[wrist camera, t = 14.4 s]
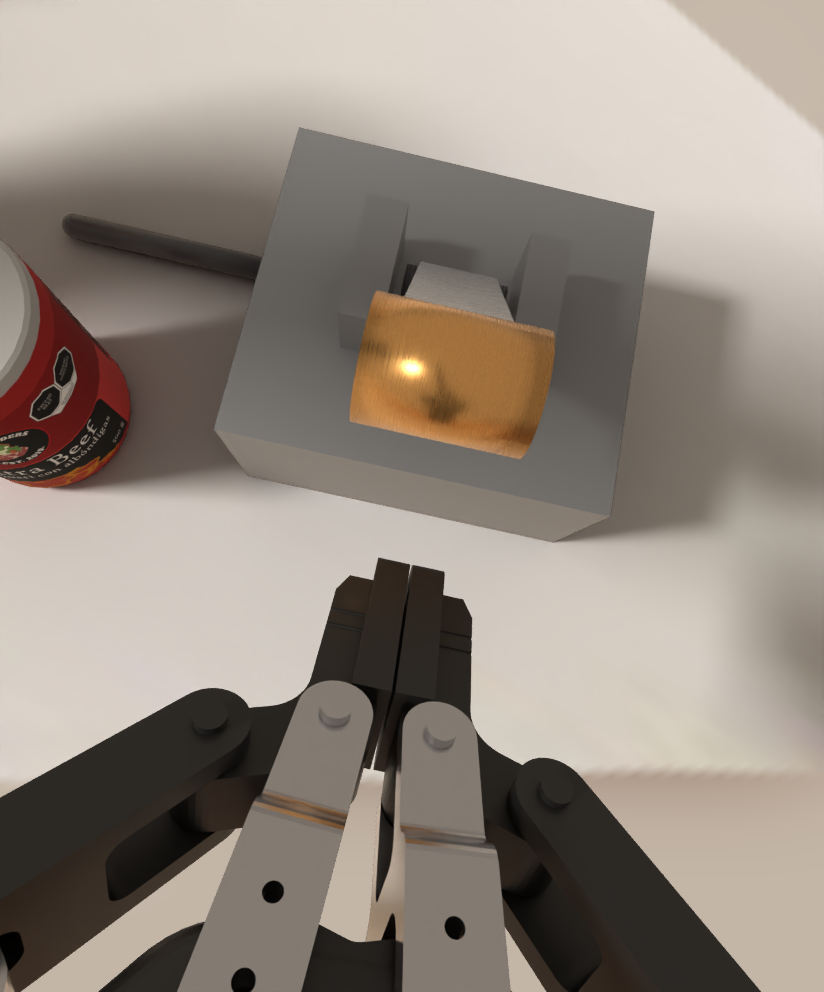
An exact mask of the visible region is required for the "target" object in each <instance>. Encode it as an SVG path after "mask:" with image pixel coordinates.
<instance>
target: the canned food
mask: <svg viewBox="0 0 824 992" xmlns="http://www.w3.org/2000/svg"><path fill="white" fill-rule="evenodd" d="M130 412H131V411H130V398H129V391H128V388H127V384H126V381H125V378H124V376H123V374H122V372H121V370H120V368H119V367H118V365H117V364H116V362H115V361H114V360H113V359H112V358H111V357H110V355H109V354H108V353H107V352H106V351H105V350H104V349H103V348H102V347H101V345H100V344H99V343H98V342H97V341H96V340H95V339H94V338H93V337H92V336H91V334H90V333H89V332H88V331H87V330H86V329H85V328H84V327H83V326H82V324H81V323H80V322H79V321H78V320H77V319H76V318H75V317H74V316H73V315H72V313H71V312H70V311H69V310H68V309H67V308H66V307H65V306H64V305H63V304H62V302H61V301H60V300H59V299H58V298H57V297H56V296H55V295H54V294H53V292H52V291H51V290H50V289H49V288H48V287H47V286H46V285H45V284H44V283H43V281H42V280H41V279H40V278H39V277H38V276H37V275H36V274H35V273H34V271H33V270H32V269H31V268H30V267H29V266H28V265H27V264H26V263H25V262H24V261H23V260H22V259H21V258H20V257H19V256H18V255H17V254H16V253H15V252H14V251H13V249H12V248H10V247H9V246H8V245H6V244H5V243H4V242H3V241H2V240H0V477H2V478H5V479H7V480H10V481H12V482H15V483H18V484H22V485H25V486H29V487H42V488H49V487H56V486H63V485H69V484H72V483H75V482H78V481H81V480H84V479H85V478H87V477H89V476H91V475H93V474H94V473H96V472H97V471H99V470H100V469H101V468H102V467H104V466H105V465H106V464H107V463H108V462H109V461H110V460H111V459H112V457H113V456H114V455H115V454H116V453H117V451H118V450H119V448H120V446H121V444H122V442H123V441H124V439H125V436H126V433H127V430H128V427H129V421H130Z"/></svg>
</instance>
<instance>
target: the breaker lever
mask: <svg viewBox="0 0 824 992" xmlns="http://www.w3.org/2000/svg"><path fill="white" fill-rule="evenodd" d="M507 292H508V286H504V285H499V283H498V281H497V278H492V277H488V276H484V275H479V274H475V273H471V272H466V271H462V270H458V269H453V268H449V267H445V266H440V265H436V264H432V263H428V262H423V261H421V262H420V265H419V266H417V265H413V264H408V263H407V266H406V270H405V274H404V279H403V283H402V288H401V294H400V295H395V294H391V293H387V292H382V291H378V290H377V291H376V292H375V294H374V297H373V300H372V303H371V306H370V309H369V313H368V317H367V320H366V324H365V329H364V333H363V337H362V342H361V346H360V351H359V356H358V361H357V366H356V371H355V377H354V383H353V389H352V396H351V404H350V422H354V423H358V424H363V425H367V426H372V427H376V428H381V429H385V430H390V431H394V432H399V433H403V434H408V435H412V436H417V437H421V438H426V439H430V440H435V441H439V442H444V443H448V444H453V445H457V446H462V447H466V448H471V449H475V450H480V451H484V452H489V453H493V454H498V455H502V456H507V457H511V458H516V459H521V458H522V457H523V456H524V455H525V454H526V452H527V450H528V449H529V447H530V445H531V442H532V440H533V438H534V435H535V433H536V430H537V427H538V425H539V422H540V419H541V415H542V412H543V409H544V405H545V401H546V398H547V394H548V390H549V385H550V380H551V375H552V370H553V363H554V355H555V335H554V332H553V331H552V330H548V329H544V328H539V327H535V326H531V325H526V324H522V323H517V322H514V320H513V318H512V315H511V313H510V310H509V308H508V305H507V303H506V298H507Z"/></svg>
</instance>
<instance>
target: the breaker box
mask: <svg viewBox="0 0 824 992" xmlns="http://www.w3.org/2000/svg"><path fill="white" fill-rule="evenodd" d="M653 219H654V211H650V210H646V209H641V208H637V207H633V206H629V205H625V204H620V203H616V202H612V201H608V200H604V199H599V198H595V197H591V196H587V195H582V194H578V193H574V192H570V191H566V190H561V189H557V188H553V187H549V186H544V185H540V184H536V183H532V182H528V181H523V180H519V179H515V178H511V177H506V176H502V175H498V174H494V173H490V172H485V171H481V170H477V169H473V168H468V167H464V166H460V165H456V164H452V163H447V162H443V161H439V160H435V159H430V158H426V157H422V156H418V155H414V154H409V153H405V152H401V151H397V150H392V149H388V148H384V147H380V146H376V145H371V144H367V143H363V142H359V141H354V140H350V139H346V138H342V137H338V136H333V135H329V134H325V133H321V132H316V131H312V130H308V129H304V128H300V127H299V130H298V133H297V137H296V140H295V144H294V147H293V151H292V154H291V158H290V161H289V165H288V168H287V172H286V175H285V179H284V183H283V186H282V190H281V193H280V197H279V200H278V204H277V207H276V211H275V214H274V218H273V221H272V225H271V228H270V232H269V236H268V239H267V243H266V246H265V250H264V253H263V257H259V256H255V255H251V254H246V253H242V252H238V251H233V250H229V249H225V248H220V247H216V246H211V245H207V244H203V243H198V242H194V241H190V240H185V239H181V238H177V237H172V236H168V235H164V234H159V233H155V232H150V231H146V230H142V229H137V228H133V227H129V226H124V225H120V224H116V223H111V222H107V221H103V220H98V219H94V218H90V217H85V216H81V215H76V214H69V215H67V216H66V217H65V218H64V219H63V222H62V227H63V229H64V231H65V233H66V234H67V235H68V236H70V237H72V238H76V239H80V240H84V241H89V242H93V243H97V244H102V245H106V246H111V247H115V248H119V249H124V250H128V251H132V252H137V253H141V254H146V255H150V256H154V257H159V258H163V259H167V260H172V261H176V262H181V263H185V264H189V265H194V266H198V267H202V268H207V269H211V270H216V271H220V272H224V273H229V274H233V275H237V276H242V277H246V278H251V279H255V280H256V281H255V285H254V289H253V292H252V296H251V299H250V303H249V306H248V310H247V313H246V317H245V320H244V324H243V327H242V331H241V334H240V338H239V342H238V345H237V349H236V352H235V356H234V359H233V363H232V366H231V370H230V373H229V377H228V380H227V384H226V387H225V391H224V394H223V398H222V402H221V405H220V409H219V412H218V416H217V419H216V423H215V426H214V431H215V432H216V433H217V435H218V436H219V437H220V439H221V440H222V441H223V443H224V444H225V445H226V447H227V448H228V450H229V451H230V452H231V454H232V455H233V456H234V458H235V459H236V460H237V462H238V463H239V464H240V466H241V467H242V469H243V470H244V471H245V473H246V474H247V475H248V476H251V477H256V478H260V479H265V480H269V481H274V482H279V483H283V484H288V485H292V486H297V487H302V488H306V489H311V490H315V491H320V492H324V493H329V494H334V495H338V496H343V497H347V498H352V499H357V500H361V501H366V502H370V503H375V504H379V505H384V506H389V507H393V508H398V509H402V510H407V511H412V512H416V513H421V514H425V515H430V516H434V517H439V518H444V519H448V520H453V521H457V522H462V523H467V524H471V525H476V526H480V527H485V528H489V529H494V530H499V531H503V532H508V533H512V534H517V535H522V536H526V537H531V538H535V539H540V540H544V541H549V542H555V541H557V540H559V539H561V538H564V537H566V536H568V535H570V534H573V533H575V532H577V531H579V530H582V529H584V528H586V527H588V526H590V525H593V524H595V523H597V522H599V521H602V520H604V519H606V518H608V517H610V515H611V508H612V501H613V494H614V487H615V480H616V473H617V467H618V460H619V453H620V446H621V439H622V432H623V425H624V418H625V411H626V405H627V398H628V391H629V384H630V377H631V370H632V363H633V356H634V349H635V343H636V336H637V329H638V322H639V315H640V308H641V301H642V294H643V287H644V281H645V274H646V267H647V260H648V253H649V246H650V239H651V232H652V225H653ZM421 261H423V262H428V263H432V264H436V265H440V266H445V267H449V268H453V269H458V270H462V271H466V272H471V273H475V274H479V275H484V276H488V277H492V278H497V281H498V283H499V285H504V286H508V292H507V298H506V303H507V305H508V308H509V310H510V313H511V315H512V318H513V320H514V322H517V323H522V324H526V325H531V326H535V327H539V328H544V329H548V330H552V331H553V332H554V335H555V355H554V363H553V370H552V375H551V380H550V385H549V390H548V394H547V398H546V401H545V405H544V409H543V412H542V415H541V419H540V422H539V425H538V427H537V430H536V433H535V435H534V438H533V440H532V442H531V445H530V447H529V449H528V450H527V452H526V454H525V455H524V456H523V457H522V458H521V459H516V458H511V457H507V456H502V455H498V454H493V453H489V452H484V451H480V450H475V449H471V448H466V447H462V446H457V445H453V444H448V443H444V442H439V441H435V440H430V439H426V438H421V437H417V436H412V435H408V434H403V433H399V432H394V431H390V430H385V429H381V428H376V427H372V426H367V425H363V424H358V423H354V422H350V404H351V396H352V389H353V383H354V377H355V371H356V366H357V361H358V356H359V351H360V346H361V342H362V337H363V333H364V329H365V324H366V320H367V317H368V313H369V309H370V306H371V303H372V300H373V297H374V294H375V292H376V291H377V290H378V291H382V292H387V293H391V294H395V295H400V294H401V288H402V283H403V279H404V274H405V270H406V266H407V263H408V264H413V265H417V266H419V265H420V262H421Z"/></svg>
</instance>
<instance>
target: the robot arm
mask: <svg viewBox="0 0 824 992" xmlns="http://www.w3.org/2000/svg"><path fill="white" fill-rule="evenodd" d="M409 569H410V564H405V563H401V562H396V561H392V560H387V559H382V558H378V562H377V566H376V570H375V575H374V579H373V580H369V579H364V578H360V577H355V576H351V575H350V576H349V577H348V578H347V579H346V580H345V581H344V582H343V583H342V584H341V585H340V586H339V587H338V588H337V589H336V591H335V595H334V599H333V602H332V606H331V610H330V613H329V616H328V620H327V624H326V627H325V630H324V634H323V638H322V641H321V645H320V648H319V652H318V655H317V659H316V662H315V666H314V669H313V673H312V676H311V679H310V682H309V684H308V685H307V687H306V688H305V690H304V691H303V692H302V693H301V694H299V695H298V696H297V697H295V698H294V699H292V700H290V701H288V702H286V703H283V704H279V705H274V706H265V707H253V708H249V707H248V705H247V704H246V702H245V701H244V700H243V699H242V698H241V697H240V696H238V695H237V694H235V693H233V692H231V691H228V690H224V689H218V688H207V689H201V690H198V691H195V692H192V693H190V694H188V695H186V696H184V697H183V698H181V699H179V700H177V701H175V702H173V703H172V704H170V705H168V706H166V707H164V708H162V709H161V710H159V711H157V712H155V713H153V714H152V715H150V716H148V717H146V718H144V719H142V720H141V721H139V722H137V723H135V724H133V725H132V726H130V727H128V728H126V729H124V730H122V731H121V732H119V733H117V734H115V735H113V736H112V737H110V738H108V739H106V740H104V741H102V742H101V743H99V744H97V745H95V746H93V747H92V748H90V749H88V750H86V751H84V752H82V753H81V754H79V755H77V756H75V757H73V758H72V759H70V760H68V761H66V762H64V763H62V764H61V765H59V766H57V767H55V768H53V769H52V770H50V771H48V772H46V773H44V774H42V775H41V776H39V777H37V778H35V779H33V780H32V781H30V782H28V783H26V784H24V785H22V786H21V787H19V788H17V789H15V790H13V791H12V792H10V793H8V794H6V795H5V796H2V797H1V798H0V992H21V991H22V990H23V989H25V988H26V987H27V986H29V985H30V984H31V983H33V982H34V981H36V980H37V979H38V978H39V977H41V976H42V975H44V974H45V973H46V972H48V971H49V970H50V969H52V968H53V967H54V966H56V965H57V964H58V963H59V962H61V961H62V960H64V959H65V958H66V957H68V956H69V955H70V954H72V953H73V952H74V951H76V950H77V949H78V948H80V947H81V946H82V945H84V944H85V943H86V942H88V941H89V940H90V939H92V938H93V937H94V936H96V935H97V934H98V933H100V932H101V931H102V930H104V929H105V928H106V927H108V926H109V925H110V924H112V923H113V922H115V921H116V920H117V919H119V918H120V917H121V916H122V915H124V914H125V913H127V912H128V911H129V910H131V909H132V908H133V907H135V906H136V905H137V904H139V903H140V902H141V901H143V900H144V899H145V898H147V897H148V896H149V895H151V894H152V893H153V892H155V891H156V890H157V889H159V888H160V887H161V886H163V885H164V884H165V883H167V882H168V881H169V880H171V879H172V878H173V877H175V876H176V875H177V874H179V873H180V872H181V871H183V870H184V869H185V868H187V867H188V866H189V865H191V864H192V863H194V862H195V861H196V860H198V859H199V858H200V857H202V856H203V855H204V854H206V853H207V852H208V851H210V850H211V849H212V848H214V847H215V846H216V845H217V844H219V843H220V842H222V841H223V840H224V839H226V838H227V837H228V836H229V835H230V834H231V833H232V832H233V831H234V830H235V829H236V828H242V831H241V833H240V836H239V838H238V841H237V843H236V846H235V848H234V851H233V853H232V856H231V858H230V861H229V863H228V866H227V868H226V871H225V873H224V876H223V878H222V881H221V883H220V886H219V888H218V891H217V893H216V896H215V898H214V901H213V903H212V906H211V908H210V911H209V913H208V916H207V918H206V921H205V922H202V923H198V924H195V925H193V926H190V927H187V928H184V929H182V930H180V931H178V932H176V933H174V934H172V935H170V936H168V937H166V938H165V939H163V940H162V941H160V942H159V943H157V944H156V945H154V946H153V947H151V948H150V949H148V950H147V951H146V952H145V953H143V954H142V955H141V956H140V957H138V958H137V959H136V960H135V961H134V962H133V963H131V964H130V965H129V966H128V967H127V968H126V969H124V970H123V971H122V972H121V973H120V974H119V975H118V976H116V977H115V978H114V979H113V980H111V981H110V982H109V983H108V984H107V985H106V986H104V987H103V988H102V989H101V990H100V991H99V992H512V991H511V990H510V979H509V969H508V958H507V947H506V936H505V927H506V929H507V931H508V932H509V933H510V935H511V937H512V938H513V940H514V941H515V943H516V945H517V946H518V948H519V949H520V951H521V952H522V954H523V956H524V957H525V959H526V960H527V962H528V963H529V965H530V967H531V968H532V969H533V971H534V973H535V974H536V976H537V978H538V979H539V981H540V982H541V984H542V985H543V987H544V988H545V990H546V992H761V991H760V990H759V989H758V988H757V986H756V985H755V984H754V983H753V982H752V981H751V979H750V978H749V977H748V976H747V975H746V973H745V972H744V971H743V970H742V968H741V967H740V966H739V965H738V964H737V963H736V961H735V960H734V959H733V958H732V957H731V955H730V954H729V953H728V952H727V951H726V949H725V948H724V947H723V946H722V945H721V944H720V942H719V941H718V940H717V939H716V937H715V936H714V935H713V934H712V933H711V932H710V930H709V929H708V928H707V927H706V926H705V924H704V923H703V922H702V921H701V920H700V918H699V917H698V916H697V915H696V914H695V912H694V911H693V910H692V909H691V908H690V906H689V905H688V904H687V903H686V902H685V901H684V899H683V898H682V897H681V896H680V895H679V893H678V892H677V891H676V890H675V889H674V887H673V886H672V885H671V884H670V883H669V881H668V880H667V879H666V878H665V877H664V875H663V874H662V873H661V872H660V871H659V870H658V868H657V867H656V866H655V865H654V864H653V863H652V861H651V860H650V859H649V858H648V856H647V855H646V854H645V853H644V852H643V850H642V849H641V848H640V847H639V846H638V844H637V843H636V842H635V841H634V840H633V839H632V838H631V836H630V835H629V834H628V833H627V831H626V830H625V829H624V828H623V827H622V825H621V824H620V823H619V822H618V821H617V819H616V818H615V817H614V816H613V815H612V814H611V812H610V811H609V810H608V809H607V808H606V806H605V805H604V804H603V803H602V802H601V800H600V799H599V798H598V797H597V796H596V794H595V793H594V792H593V791H592V790H591V789H590V787H589V786H588V785H587V784H586V783H585V782H584V780H583V779H582V778H581V777H580V776H579V775H578V774H577V772H575V771H574V770H573V769H572V768H570V767H569V766H567V765H566V764H564V763H562V762H560V761H557V760H554V759H549V758H536V759H532V760H530V761H528V762H526V763H525V764H524V765H521V764H519V763H517V762H515V761H513V760H511V759H509V758H508V757H506V756H504V755H502V754H500V753H498V752H497V751H495V750H494V749H492V748H491V747H490V746H488V745H487V744H486V743H485V742H484V741H483V740H482V738H481V737H480V736H479V735H478V733H477V731H476V730H475V728H474V725H473V723H472V719H471V712H470V703H471V648H472V640H471V638H472V617H471V615H470V613H469V611H468V609H467V607H466V605H465V602H464V600H463V599H458V598H453V597H449V596H444V595H443V589H444V575H445V574H444V572H443V571H438V570H434V569H429V568H425V567H420V566H415V565H412V568H411V571H410V575H409ZM408 576H409V578H408ZM377 742H378V743H377ZM376 746H377V750H376ZM375 750H376V756H375V763H374V769H373V770H378V771H382V772H385V775H384V782H383V790H382V794H381V797H380V801H379V804H378V808H377V816H376V832H375V848H374V863H373V879H372V896H371V909H370V918H369V924H368V930H367V935H366V941H365V942H353V941H350V940H348V939H346V938H344V937H342V936H340V935H338V934H336V933H334V932H332V931H331V930H329V929H327V928H325V927H323V926H321V925H319V922H320V918H321V914H322V911H323V907H324V903H325V899H326V895H327V891H328V888H329V884H330V880H331V876H332V872H333V868H334V865H335V861H336V857H337V853H338V850H339V846H340V842H341V838H342V834H343V831H344V827H345V823H346V819H347V815H348V811H349V808H350V804H351V803H352V802H353V800H354V799H355V797H356V794H357V791H358V787H359V783H360V779H361V776H362V772H363V768H367V769H370V767H371V764H372V760H373V757H374V753H375Z"/></svg>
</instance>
